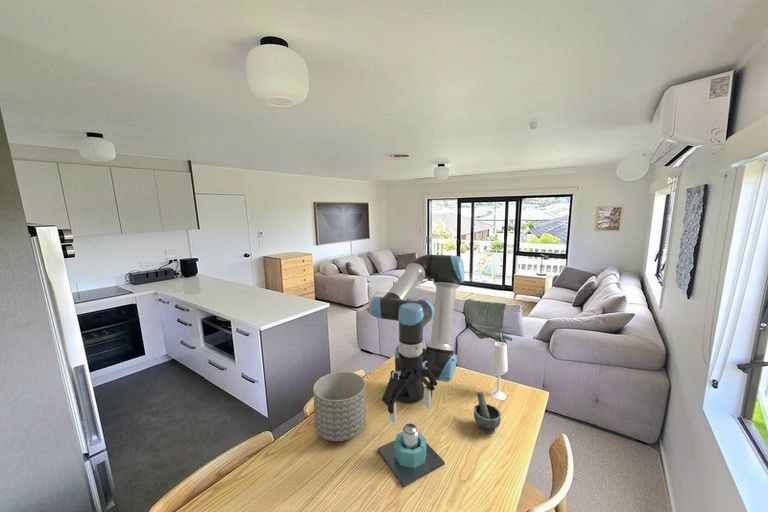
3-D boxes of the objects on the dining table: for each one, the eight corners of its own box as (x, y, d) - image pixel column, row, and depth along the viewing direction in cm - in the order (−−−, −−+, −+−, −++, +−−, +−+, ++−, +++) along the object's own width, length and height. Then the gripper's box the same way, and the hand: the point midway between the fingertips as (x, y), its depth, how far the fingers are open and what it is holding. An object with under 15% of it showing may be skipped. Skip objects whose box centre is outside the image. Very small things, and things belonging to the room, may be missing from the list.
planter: (373, 418, 117) (372, 376, 114) (353, 455, 99) (352, 405, 96) (331, 408, 123) (329, 368, 120) (304, 441, 105) (302, 394, 103)
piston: (377, 450, 101) (377, 422, 99) (415, 433, 109) (415, 406, 107) (403, 487, 87) (403, 454, 86) (444, 464, 95) (445, 434, 94)
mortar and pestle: (505, 435, 107) (507, 405, 106) (482, 440, 105) (484, 409, 104) (487, 415, 118) (489, 387, 117) (466, 419, 116) (467, 391, 114)
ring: (389, 450, 99) (389, 437, 99) (413, 439, 105) (413, 426, 104) (406, 472, 91) (406, 458, 90) (431, 459, 96) (432, 445, 95)
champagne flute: (507, 393, 133) (510, 343, 129) (504, 401, 127) (507, 349, 124) (492, 389, 136) (494, 339, 133) (488, 396, 131) (490, 345, 127)
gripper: (382, 368, 83) (383, 435, 87) (448, 347, 96) (447, 406, 99) (370, 357, 90) (371, 420, 93) (433, 339, 102) (433, 394, 105)
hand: (410, 413), depth 96 cm, fingers open, 13 cm apart
